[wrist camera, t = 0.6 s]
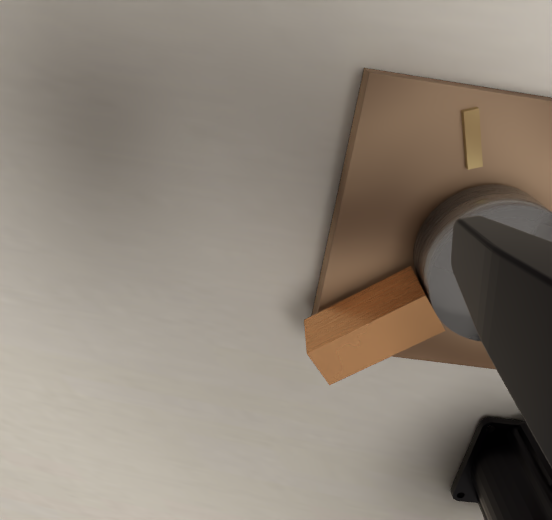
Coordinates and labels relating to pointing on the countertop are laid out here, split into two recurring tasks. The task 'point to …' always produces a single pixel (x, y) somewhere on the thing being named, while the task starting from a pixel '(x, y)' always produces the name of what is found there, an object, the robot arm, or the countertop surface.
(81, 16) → the countertop surface
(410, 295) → the metal and wood piece
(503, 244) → the robot arm
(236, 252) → the countertop surface
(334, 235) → the base plate
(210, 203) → the countertop surface
